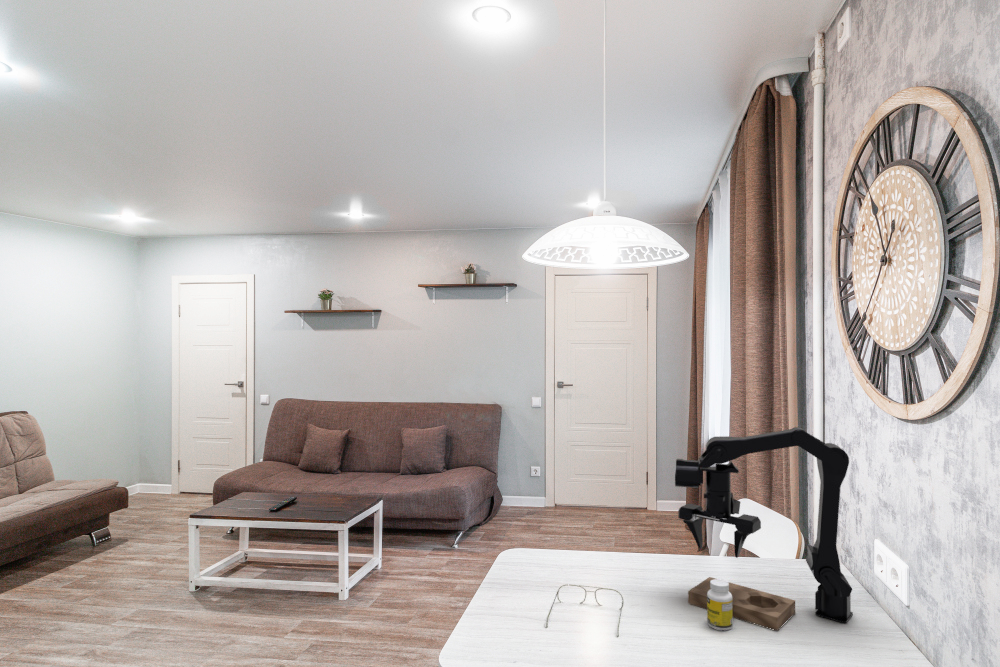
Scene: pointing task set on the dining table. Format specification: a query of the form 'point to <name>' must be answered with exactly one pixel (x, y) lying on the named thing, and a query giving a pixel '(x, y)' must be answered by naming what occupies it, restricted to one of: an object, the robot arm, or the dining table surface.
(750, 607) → the socket board
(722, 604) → the supplement bottle
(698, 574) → the dining table surface
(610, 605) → the dining table surface
